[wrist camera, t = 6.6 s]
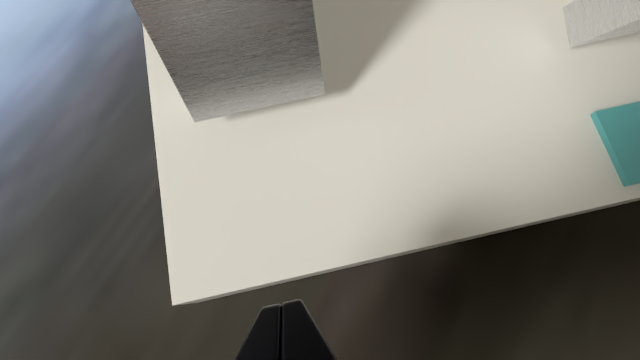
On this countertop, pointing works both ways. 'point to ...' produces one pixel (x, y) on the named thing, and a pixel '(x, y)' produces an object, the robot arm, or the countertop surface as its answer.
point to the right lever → (600, 20)
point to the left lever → (235, 52)
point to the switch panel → (398, 143)
